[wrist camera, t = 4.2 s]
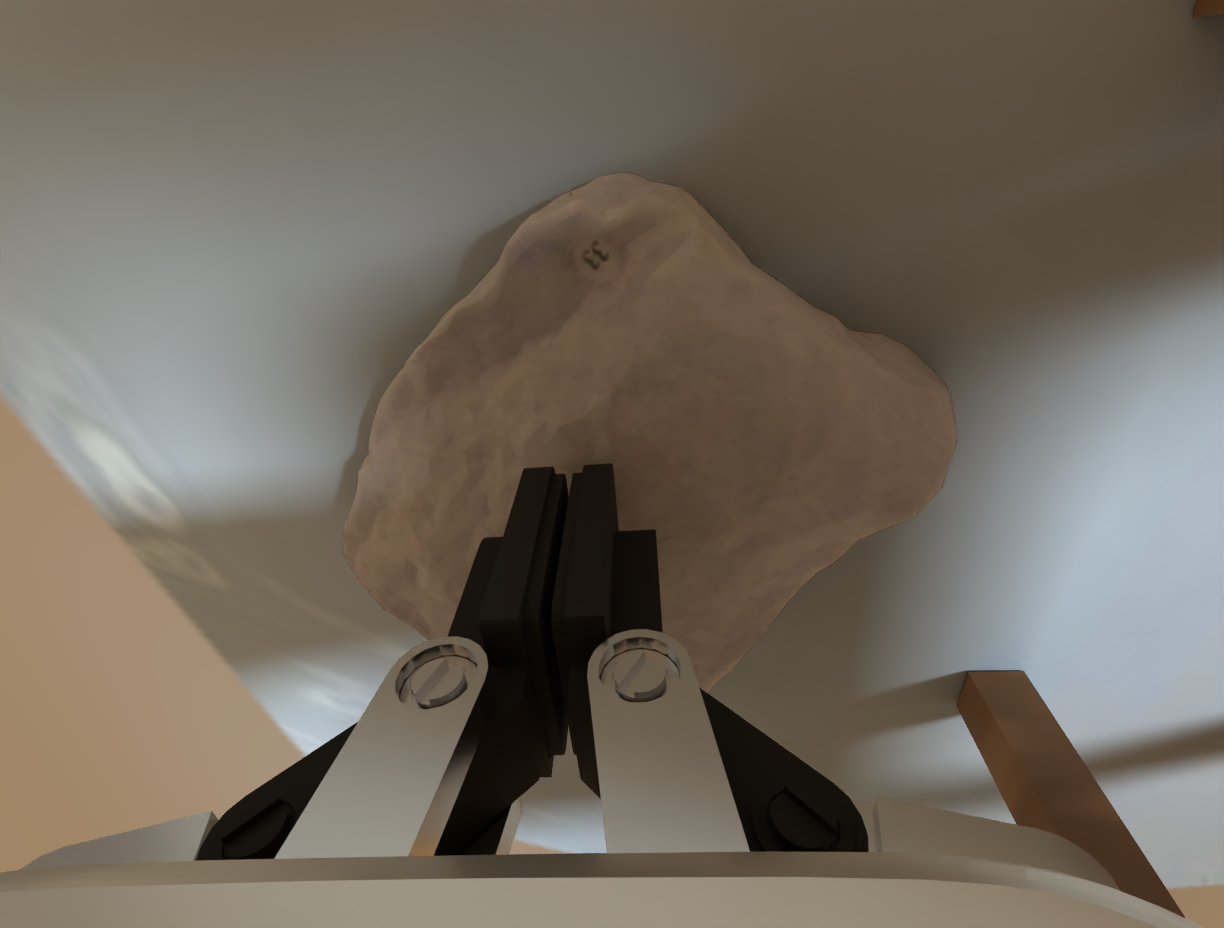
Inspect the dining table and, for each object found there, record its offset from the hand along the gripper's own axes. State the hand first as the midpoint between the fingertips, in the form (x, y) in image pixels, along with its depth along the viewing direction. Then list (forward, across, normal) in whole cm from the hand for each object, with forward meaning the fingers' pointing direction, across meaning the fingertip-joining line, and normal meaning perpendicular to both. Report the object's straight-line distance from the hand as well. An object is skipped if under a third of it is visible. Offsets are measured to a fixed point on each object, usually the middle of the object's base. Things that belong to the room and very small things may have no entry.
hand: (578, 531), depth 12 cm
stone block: (+4, 0, 0) cm, 4 cm away
